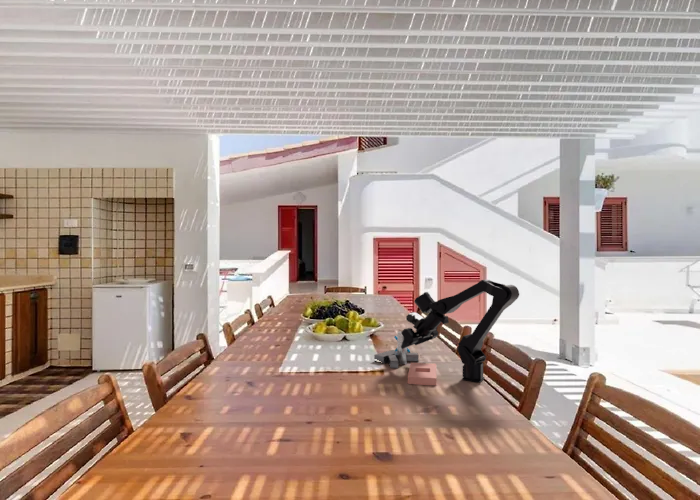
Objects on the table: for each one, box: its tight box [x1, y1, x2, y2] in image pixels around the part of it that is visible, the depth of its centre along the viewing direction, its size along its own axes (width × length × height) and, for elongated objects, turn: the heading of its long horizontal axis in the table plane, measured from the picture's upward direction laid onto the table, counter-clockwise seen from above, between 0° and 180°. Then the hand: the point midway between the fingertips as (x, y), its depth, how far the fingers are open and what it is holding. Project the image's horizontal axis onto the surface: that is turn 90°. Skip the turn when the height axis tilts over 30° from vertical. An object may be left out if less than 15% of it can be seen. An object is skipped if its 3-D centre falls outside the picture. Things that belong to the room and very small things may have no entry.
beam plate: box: [407, 362, 437, 386], centre depth 167 cm, size 20×10×2 cm, turn 169°
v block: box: [373, 349, 420, 369], centre depth 189 cm, size 13×18×3 cm
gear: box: [393, 335, 411, 353], centre depth 207 cm, size 11×6×10 cm
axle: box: [396, 330, 408, 365], centre depth 186 cm, size 4×4×13 cm
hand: (408, 346), depth 184 cm, fingers open, 9 cm apart
